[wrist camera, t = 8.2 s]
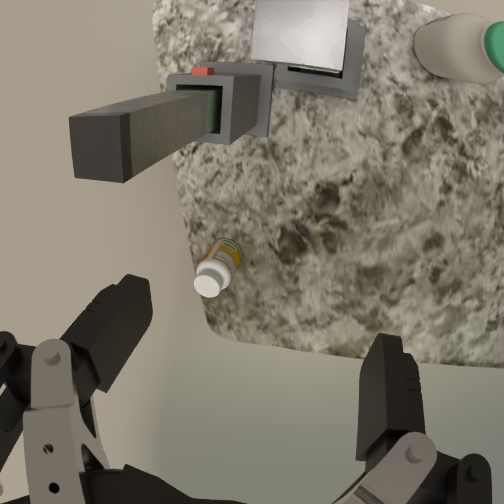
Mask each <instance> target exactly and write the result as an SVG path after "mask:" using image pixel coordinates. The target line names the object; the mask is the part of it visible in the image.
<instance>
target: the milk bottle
mask: <svg viewBox="0 0 504 504" xmlns="http://www.w3.org/2000/svg"><path fill="white" fill-rule="evenodd" d="M414 50H415V53H416V56H417V58H418V60H419V61H420V63H421V64H422V65H423V66H424V68H426V69H427V70H428V71H429V72H431V73H433V74H435V75H437V76H441V77H445V78H449V79H454V80H459V81H464V82H469V83H476V84H486V83H490V82H494V81H496V80H498V79H499V78H501V77H502V76H503V75H504V22H495V23H492V22H491V21H489V20H487V19H485V18H483V17H481V16H478V15H475V14H469V13H467V14H466V13H461V14H455V15H450V16H447V17H444V18H440V19H437V20H434V21H431V22H429V23H426V24H424V25H423V26H421V27H420V28H419V29H418V31H417V33H416V35H415V38H414Z"/></svg>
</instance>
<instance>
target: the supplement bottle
mask: <svg viewBox="0 0 504 504" xmlns="http://www.w3.org/2000/svg"><path fill="white" fill-rule="evenodd" d="M241 257H242V253H241V249H240V248H239V246H238V245H237V244H236V243H235V242H233V241H232V240H229V239H219V240H216V241H215V242H214V243H213V244H212V245H211V247H210V249H209V250H208V252H207V253H206V255H205V256H204V257H203V259H202V260H201V262H200V264H199V265H198V267H197V271H196V274H197V277H196V278H195V280H194V286H195V288H196V290H197V292H198V293H200V294H201V295H203V296H205V297H215V296H217V295H218V294H219V292H220V290H222V289H224V288H226V287H227V286H228V285H229V283H230V281H231V279H232V277H233V275H234V273H235V271H236V269H237V267H238V265H239V263H240V260H241Z"/></svg>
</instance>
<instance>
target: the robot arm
mask: <svg viewBox="0 0 504 504" xmlns="http://www.w3.org/2000/svg"><path fill="white" fill-rule="evenodd" d="M152 314H153V309H152V302H151V293H150V285H149V281H148V280H147V279H145V278H142V277H138V276H134V275H131V274H127V275H125V276H124V278H123V279H122V280H121V281H120V282H119V283H118V284H117V285H114V284H112V285H110V286H108V287H106V288H105V289H103V290H101V291H100V292H99V293H98V294H97V296H96V297H95V298H94V299H93V300H92V303H90V304H89V305H88V306H87V307H86V309H85V310H84V311H83V312H82V313H81V314H80V315H79V316H78V317H77V319H76V320H75V321H74V322H73V323H72V325H71V326H70V327H69V328H68V329H67V331H66V332H65V333H64V334H63V335H62V337H61V338H60V339H50V340H46V341H44V342H42V343H41V344H39V345H38V346H37V347H35V346H28V345H21V344H18V343H17V341H16V339H15V337H14V336H13V335H12V334H11V333H9V332H6V331H1V332H0V388H1V386H2V385H3V384H5V386H6V388H5V390H4V391H3V393H2V394H1V396H0V472H1V470H2V468H3V466H4V464H5V462H6V460H7V458H8V456H9V455H10V453H11V451H12V449H13V447H14V445H15V443H16V442H17V440H18V438H19V436H20V435H21V433H22V431H23V436H24V452H25V463H26V473H27V481H28V488H29V495H27V496H24V497H21V498H18V499H15V500H11V501H8V502H5V503H2V504H246V503H241V502H237V501H232V500H230V501H229V500H209V499H195V498H191V497H189V496H187V495H185V494H184V493H182V492H181V491H179V490H177V489H176V488H174V487H172V486H171V485H169V484H168V483H166V482H165V481H163V480H162V479H160V478H159V477H156V476H154V475H151V474H149V473H146V472H144V471H141V470H139V469H137V468H134V467H132V466H130V465H127V464H125V466H124V468H123V470H121V469H110V467H109V463H108V460H107V457H106V454H105V452H104V450H103V447H102V444H101V441H100V436H99V431H98V425H97V420H96V414H95V407H94V401H93V396H92V394H93V393H94V391H95V390H96V389H99V390H101V391H103V392H105V393H107V392H108V390H109V389H110V387H111V385H112V384H113V382H114V380H115V379H116V377H117V376H118V374H119V372H120V371H121V369H122V368H123V366H124V365H125V363H126V361H127V360H128V358H129V356H130V355H131V353H132V352H133V350H134V348H135V347H136V346H137V344H138V342H139V341H140V339H141V338H142V336H143V335H144V333H145V332H146V330H147V329H148V327H149V325H150V323H151V320H152ZM359 379H360V380H359V414H358V433H357V449H356V460H357V461H366V467H365V471H363V472H362V473H361V475H359V477H357V479H356V480H355V481H354V482H353V483H352V484H351V485H350V486H349V487H347V488H346V489H345V490H344V491H343V492H342V493H341V494H340V495H339V496H338V497H337V498H336V499H335V500H334V501H333V502H332V503H330V504H492V481H491V469H490V465H489V463H488V461H487V460H486V459H485V458H484V457H483V456H481V455H479V454H469V455H466V456H465V457H464V458H462V459H461V460H459V459H457V458H454V457H451V456H448V455H446V454H443V453H441V452H439V451H437V450H436V447H435V444H434V443H433V441H432V440H431V439H430V438H429V437H428V436H426V432H425V422H424V411H423V401H422V393H421V385H420V382H419V380H420V377H419V370H418V365H417V364H416V362H415V360H414V358H413V357H412V355H411V354H409V353H403V345H402V339H401V337H400V336H395V335H389V334H384V333H379V334H378V335H377V336H376V338H375V340H374V342H373V344H372V346H371V348H370V350H369V352H368V354H367V356H366V358H365V359H364V361H363V364H362V367H361V371H360V378H359ZM2 493H3V487H2V485H1V484H0V496H1V495H2Z"/></svg>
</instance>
